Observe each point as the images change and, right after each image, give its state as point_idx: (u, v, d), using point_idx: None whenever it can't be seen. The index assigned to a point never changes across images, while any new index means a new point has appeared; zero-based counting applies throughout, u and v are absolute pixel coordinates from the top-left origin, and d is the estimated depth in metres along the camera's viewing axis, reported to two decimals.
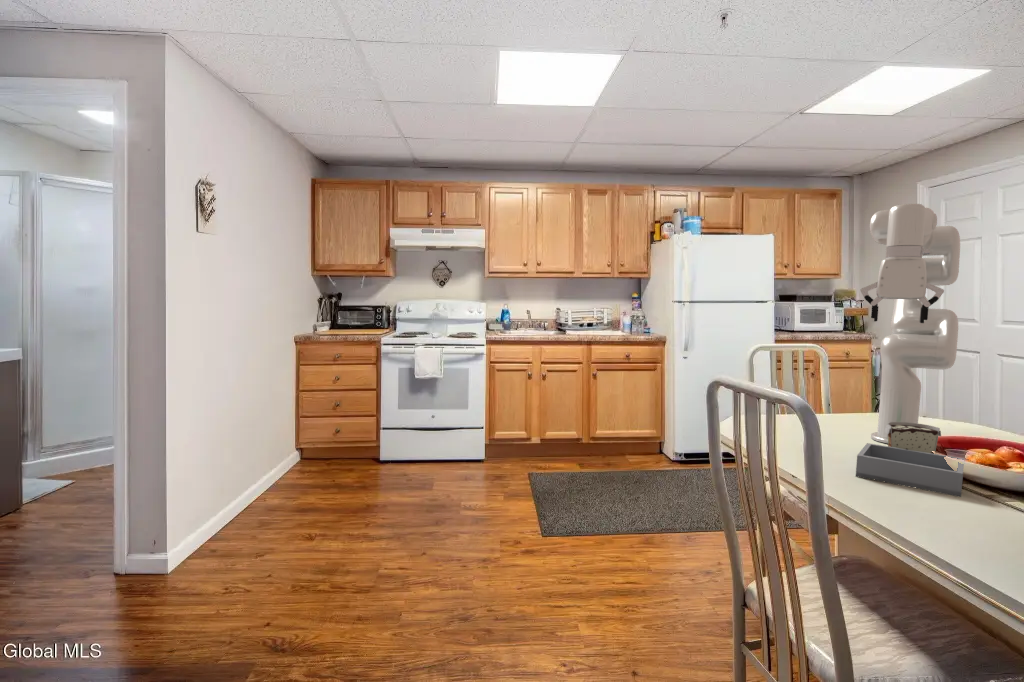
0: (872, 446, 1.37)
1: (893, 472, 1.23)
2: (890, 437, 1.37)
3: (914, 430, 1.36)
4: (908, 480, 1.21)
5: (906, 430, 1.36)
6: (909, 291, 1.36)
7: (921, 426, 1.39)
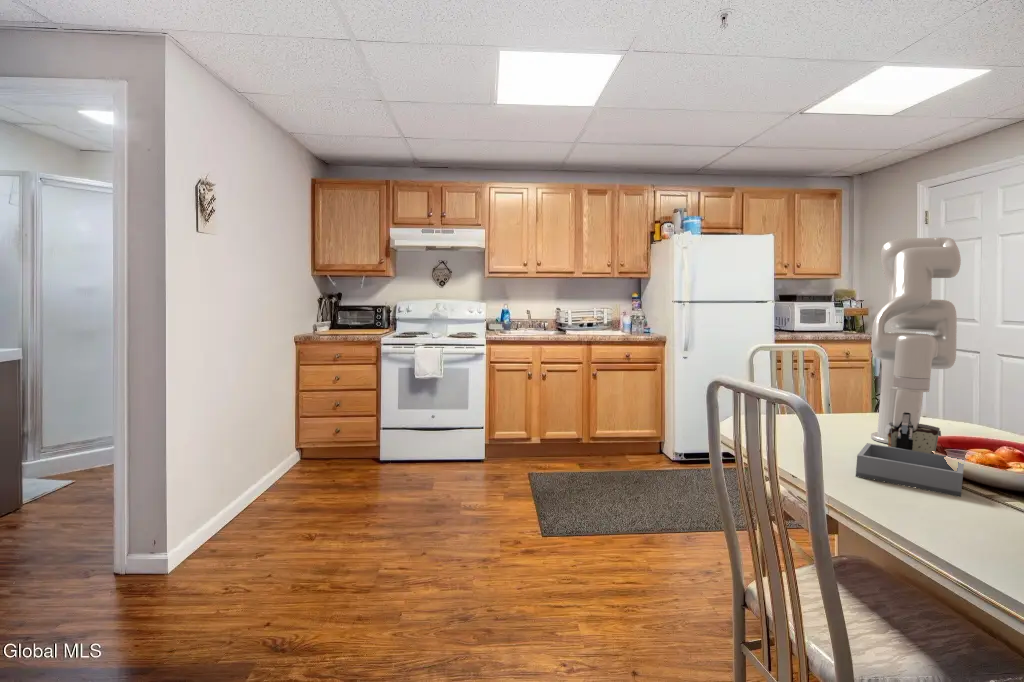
0: (872, 446, 1.37)
1: (893, 472, 1.23)
2: (890, 437, 1.37)
3: None
4: (908, 480, 1.21)
5: None
6: None
7: (921, 426, 1.39)
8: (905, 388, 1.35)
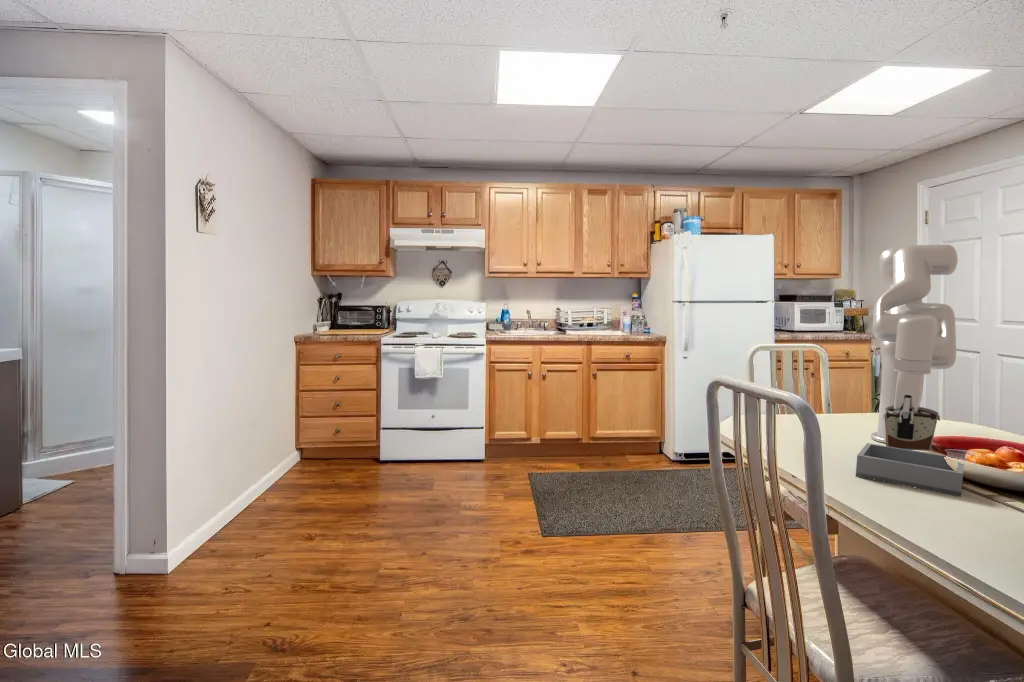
0: (872, 446, 1.37)
1: (893, 472, 1.23)
2: (885, 422, 1.39)
3: None
4: (908, 480, 1.21)
5: None
6: None
7: (922, 409, 1.39)
8: (906, 371, 1.35)
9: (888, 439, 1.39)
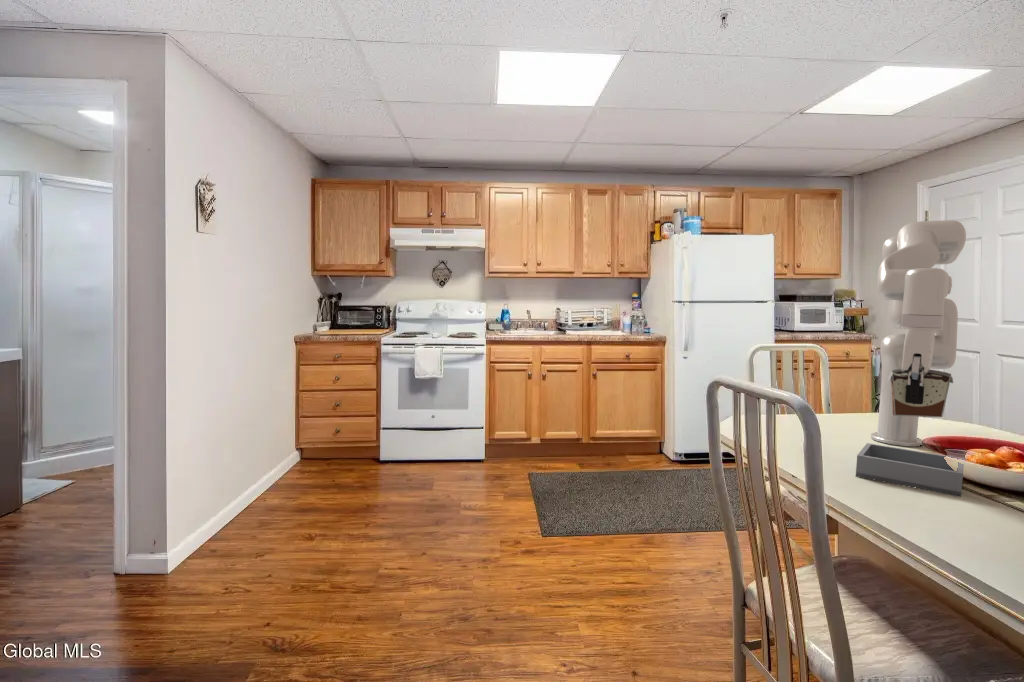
0: (872, 446, 1.37)
1: (893, 472, 1.23)
2: (892, 385, 1.25)
3: None
4: (908, 480, 1.21)
5: None
6: None
7: (933, 372, 1.25)
8: (915, 327, 1.22)
9: (895, 404, 1.25)
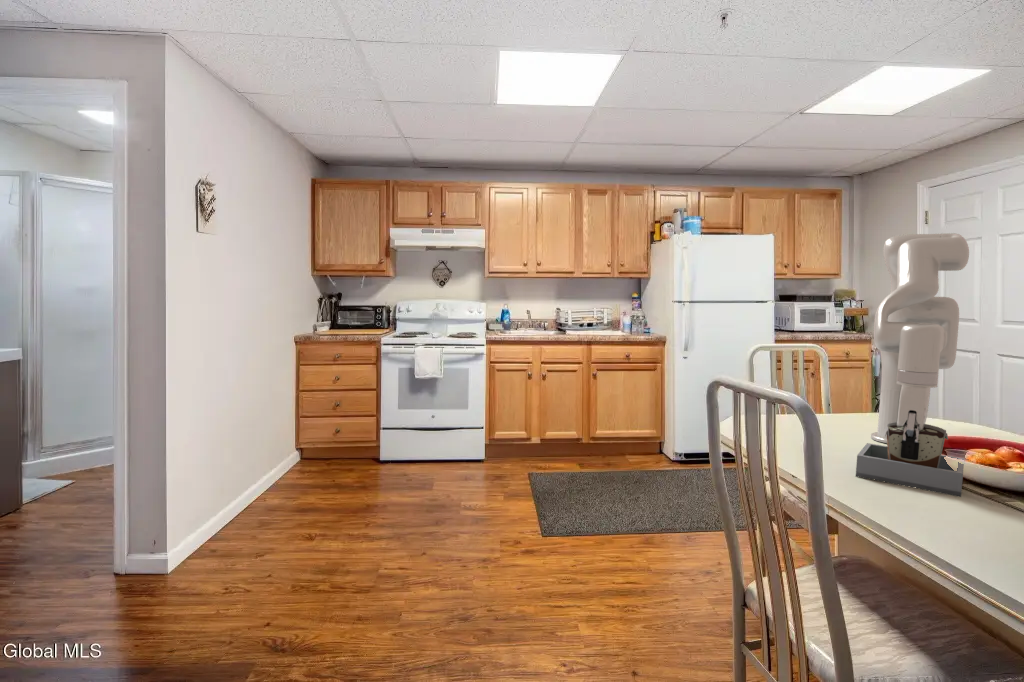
0: (872, 446, 1.37)
1: (893, 472, 1.23)
2: (888, 440, 1.26)
3: None
4: (908, 480, 1.21)
5: None
6: None
7: (928, 427, 1.26)
8: (911, 383, 1.23)
9: (890, 459, 1.26)
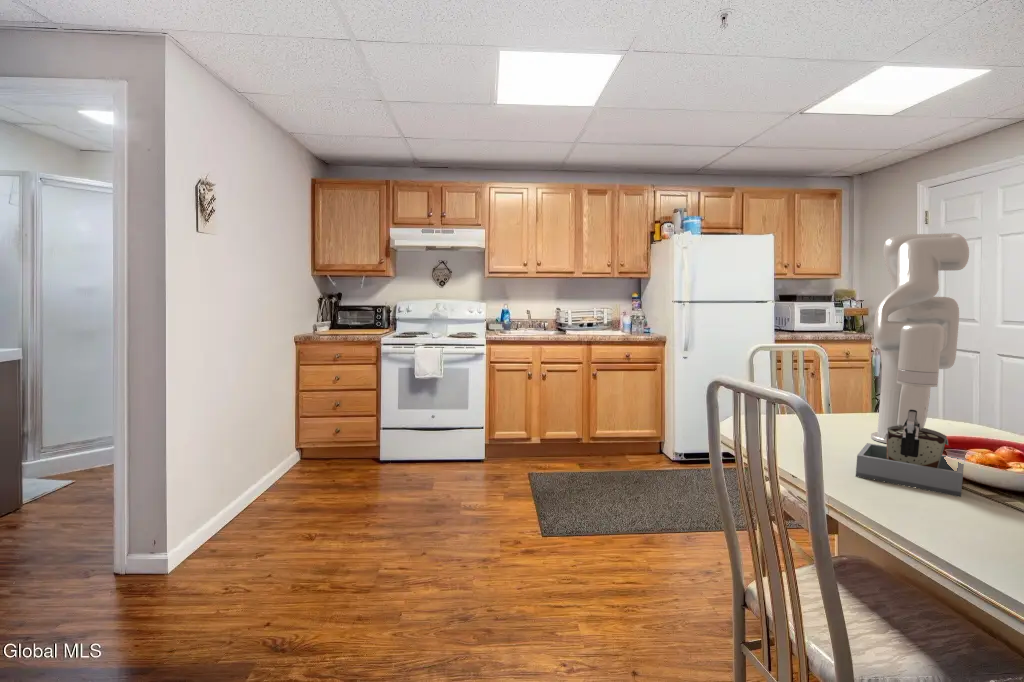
0: (872, 446, 1.37)
1: (893, 472, 1.23)
2: (887, 443, 1.27)
3: None
4: (908, 480, 1.21)
5: None
6: (926, 418, 1.26)
7: (930, 432, 1.27)
8: (911, 383, 1.23)
9: None
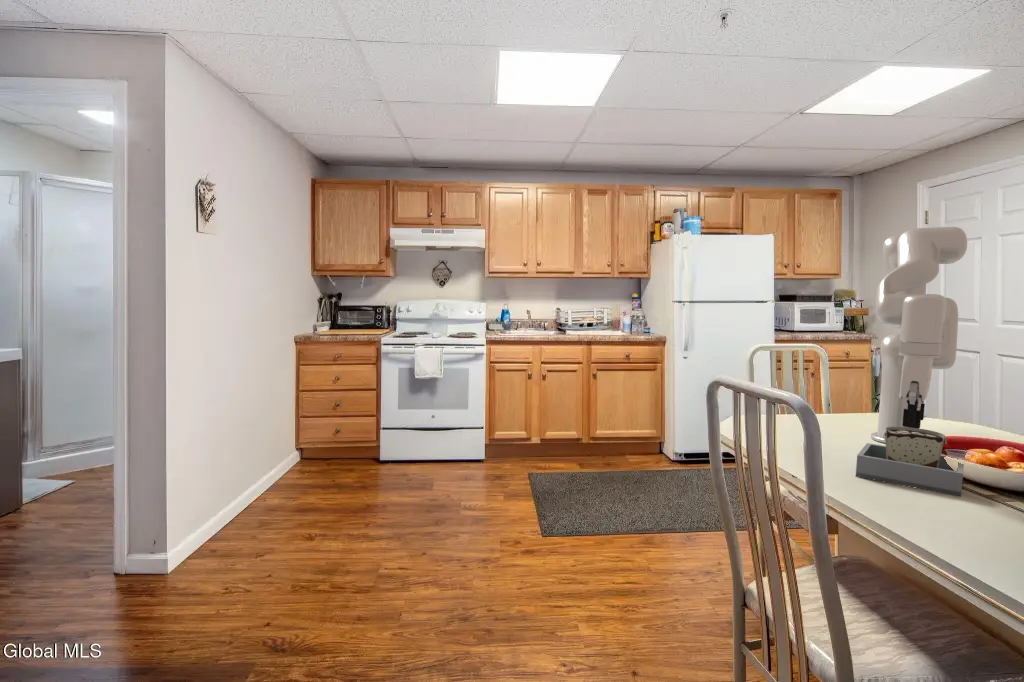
0: (872, 446, 1.37)
1: (893, 472, 1.23)
2: (886, 442, 1.28)
3: (914, 436, 1.26)
4: (908, 480, 1.21)
5: (904, 435, 1.26)
6: (928, 390, 1.26)
7: (928, 432, 1.28)
8: (913, 354, 1.23)
9: None
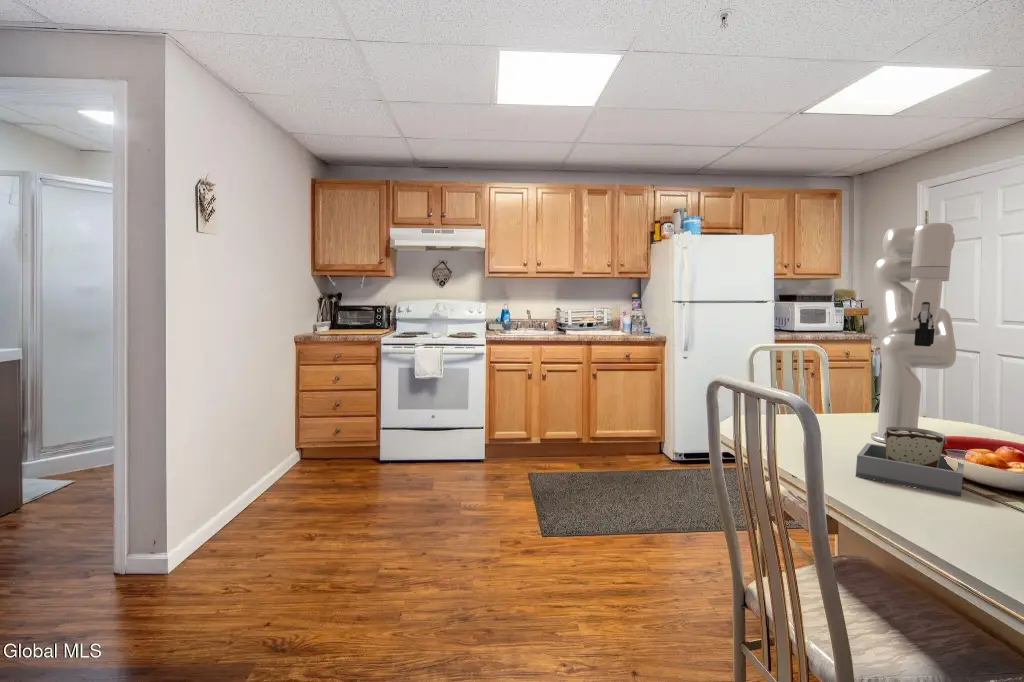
0: (872, 446, 1.37)
1: (893, 472, 1.23)
2: (886, 442, 1.28)
3: (914, 436, 1.26)
4: (908, 480, 1.21)
5: (904, 435, 1.26)
6: None
7: (928, 432, 1.28)
8: (924, 278, 1.31)
9: None
